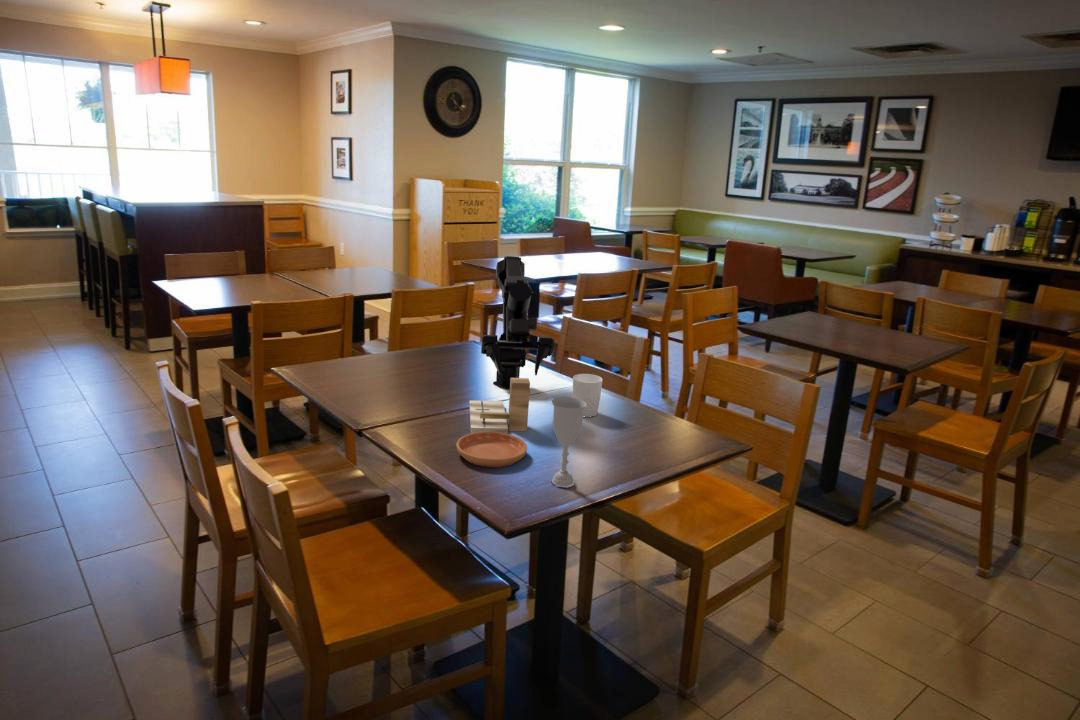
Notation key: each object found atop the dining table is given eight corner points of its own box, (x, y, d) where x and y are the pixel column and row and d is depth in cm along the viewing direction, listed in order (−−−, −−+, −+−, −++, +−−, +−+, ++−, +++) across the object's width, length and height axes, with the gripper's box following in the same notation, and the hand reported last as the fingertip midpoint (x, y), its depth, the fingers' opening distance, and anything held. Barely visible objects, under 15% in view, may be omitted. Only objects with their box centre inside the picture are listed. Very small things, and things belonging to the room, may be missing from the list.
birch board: (469, 405, 194) (469, 400, 193) (502, 406, 195) (502, 400, 195) (470, 433, 175) (471, 427, 174) (507, 434, 176) (508, 428, 175)
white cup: (603, 418, 191) (606, 382, 189) (575, 418, 189) (577, 382, 187) (594, 408, 199) (597, 373, 196) (566, 408, 197) (569, 373, 194)
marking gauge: (479, 424, 181) (481, 376, 178) (525, 424, 183) (528, 378, 179) (479, 429, 177) (481, 381, 174) (527, 430, 179) (530, 383, 176)
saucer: (537, 452, 167) (538, 440, 166) (506, 477, 153) (507, 464, 152) (477, 437, 173) (478, 426, 172) (442, 461, 159) (442, 448, 158)
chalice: (539, 483, 150) (545, 402, 146) (556, 472, 156) (561, 394, 151) (569, 493, 147) (576, 411, 142) (585, 482, 152) (592, 402, 148)
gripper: (483, 304, 182) (483, 357, 175) (556, 306, 184) (559, 359, 177) (481, 327, 192) (480, 378, 184) (550, 329, 194) (552, 380, 187)
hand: (518, 374), depth 183 cm, fingers open, 9 cm apart
